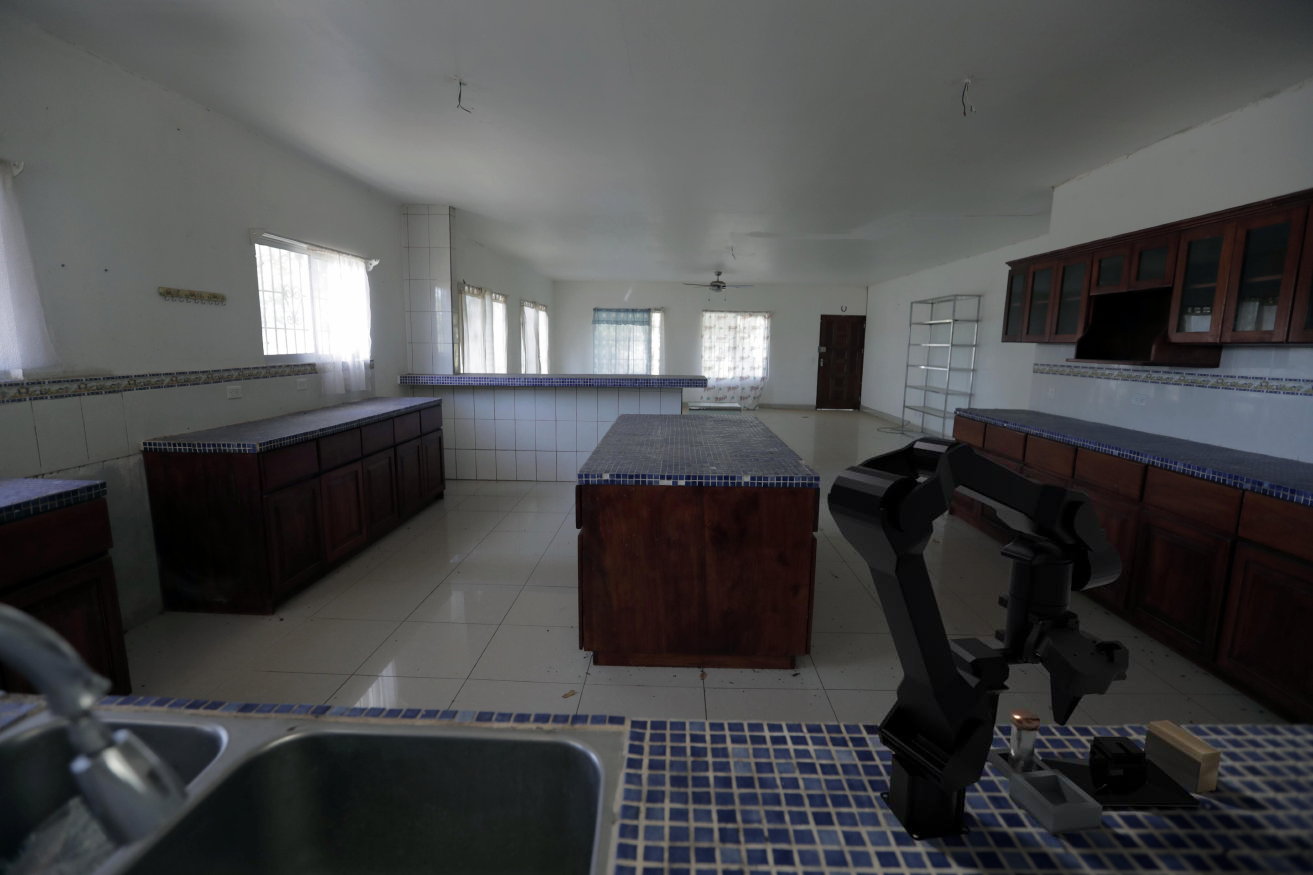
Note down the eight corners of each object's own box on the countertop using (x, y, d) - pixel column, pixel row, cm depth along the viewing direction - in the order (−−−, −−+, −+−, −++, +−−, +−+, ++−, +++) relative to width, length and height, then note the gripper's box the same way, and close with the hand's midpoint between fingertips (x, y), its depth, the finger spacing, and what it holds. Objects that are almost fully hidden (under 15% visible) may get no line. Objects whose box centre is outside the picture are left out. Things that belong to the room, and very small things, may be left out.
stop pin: (1018, 779, 67) (1024, 724, 66) (1000, 763, 69) (1005, 709, 69) (1040, 776, 67) (1046, 722, 66) (1020, 760, 70) (1026, 707, 69)
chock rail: (1194, 796, 64) (1200, 754, 64) (1142, 761, 70) (1147, 721, 70) (1214, 793, 65) (1220, 751, 64) (1161, 758, 71) (1167, 719, 70)
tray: (1051, 835, 59) (1054, 812, 58) (1009, 795, 64) (1011, 773, 64) (1099, 829, 60) (1102, 806, 59) (1054, 789, 65) (1056, 768, 65)
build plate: (1079, 806, 62) (1082, 766, 62) (1038, 760, 70) (1040, 723, 69) (1201, 806, 62) (1205, 765, 61) (1146, 759, 69) (1149, 722, 69)
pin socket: (1017, 787, 65) (1018, 779, 65) (985, 757, 70) (986, 749, 70) (1056, 782, 66) (1057, 774, 66) (1022, 753, 71) (1023, 745, 71)
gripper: (1019, 634, 56) (1003, 785, 58) (1184, 623, 59) (1163, 767, 61) (943, 589, 67) (932, 718, 69) (1086, 582, 70) (1071, 705, 72)
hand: (1023, 727), depth 68 cm, fingers open, 9 cm apart
